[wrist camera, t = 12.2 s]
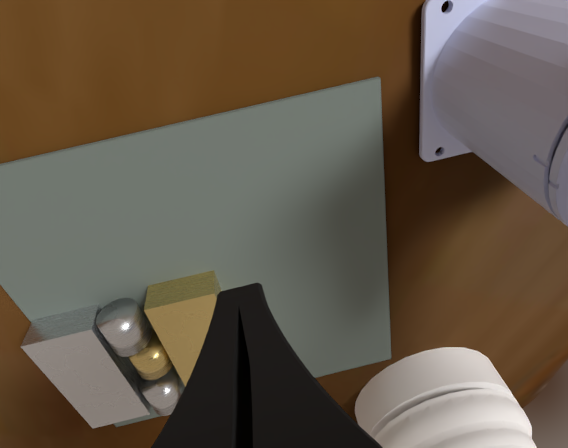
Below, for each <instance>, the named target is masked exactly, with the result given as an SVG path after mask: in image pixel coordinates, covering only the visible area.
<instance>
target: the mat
mask: <svg viewBox="0 0 568 448" xmlns="http://www.w3.org/2000/svg"><path fill="white" fill-rule="evenodd" d="M212 270H214V272H215V274H216V277H217V280H218V282H219V285H220V288H221V291H224V290H229V289H233V288H237V287H241V286H245V285H249V284H253V283H257V282H258V283H260V284H262V287H263V291H264V294H265V297H266V301H267V304H268V306H269V309H270V311H271V313H272V315H273V317H274V319H275V321H276V322H277V324H278V326H279V328H280V329H281V331H282V333H283V335H284V336H285V338H286V339H287V341H288V342H289V344H290V345H291V347H292V348H293V350H294V351H295V353H296V354H297V356H298V357H299V358H300V360H301V361H302V363H303V364H304V365H305V366H306V368H307V369H308V370H309V372H310V373H311V374H312V375H313V377H314V378H316V377H320V376H324V375H328V374H332V373H336V372H340V371H344V370H348V369H352V368H356V367H360V366H364V365H368V364H372V363H376V362H380V361H384V360H388V359H391V338H390V312H389V286H388V261H387V235H386V209H385V184H384V158H383V132H382V107H381V81H380V78H379V77H375V78H370V79H366V80H362V81H357V82H353V83H349V84H344V85H340V86H336V87H331V88H327V89H323V90H318V91H314V92H310V93H305V94H301V95H297V96H292V97H288V98H284V99H279V100H275V101H271V102H266V103H262V104H258V105H253V106H249V107H245V108H240V109H236V110H232V111H228V112H223V113H219V114H215V115H210V116H206V117H202V118H197V119H193V120H189V121H184V122H180V123H176V124H171V125H167V126H163V127H158V128H154V129H150V130H145V131H141V132H137V133H132V134H128V135H124V136H119V137H115V138H111V139H106V140H102V141H98V142H93V143H89V144H85V145H80V146H76V147H72V148H67V149H63V150H59V151H54V152H50V153H46V154H41V155H37V156H33V157H28V158H24V159H20V160H15V161H11V162H7V163H3V164H0V285H1V286H2V287H3V288H4V290H5V291H6V292H7V293H8V295H9V296H10V297H11V298H12V299H13V301H14V302H15V303H16V304H17V306H18V307H19V308H20V309H21V310H22V312H23V313H24V314H25V315H26V317H27V318H28V319H29V320H30V322H31V323H32V321H33V320H34V319H38V318H42V317H47V316H51V315H55V314H59V313H63V312H67V311H71V310H76V309H80V308H84V307H88V306H92V305H96V304H99V305H100V306H101V308H102V309H103V308H104V307H105V306H106V305H108V304H109V303H111V302H113V301H115V300H118V299H122V298H131V299H133V300H135V301H136V303H137V305H138V306H139V308H140V310H141V312H142V313H143V315H144V317H145V319H146V321H147V322H148V324H149V326H150V328H153V326H152V324H151V323H150V321H149V319H148V317H147V315H146V313H145V312H144V306H145V300H146V295H147V289H148V286H149V285H153V284H157V283H161V282H166V281H170V280H174V279H178V278H183V277H187V276H191V275H195V274H200V273H204V272H208V271H212ZM172 367H173V369H174V370H175V372H176V374H177V376H178V377H179V379H180V381H181V383H182V385H183V386H184V388H185V385H184V383H183V381H182V380H181V378H180V376H179V374H178V372H177V370H176V369H175V367H174V365H173V366H172ZM159 416H161V415H158V414H157V413H156V412H155V411H154V410H153V408H152V407H151V411H150V414H149V415H145V416H141V417H137V418H133V419H129V420H125V421H121V422H117V423H113V424H114V425H115V426H116V427H119V426H123V425H127V424H131V423H135V422H139V421H143V420H147V419H151V418H155V417H159Z"/></svg>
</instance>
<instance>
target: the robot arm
mask: <svg viewBox="0 0 568 448" xmlns="http://www.w3.org/2000/svg"><path fill="white" fill-rule="evenodd" d="M445 1H448V3H449V6H448V9H447V10H446V11H445V12H442V10H441V8H442V5H443V3H444V2H445ZM439 147H441V150H440V151H439V152H438V153H435V152H436V150H437V149H438V148H439ZM469 152H474V153H475V154H476V155H477V156H479V157H480V158H481V159H482V160H484V161H485V162H486V163H488V164H489V165H490V166H491V167H493V168H494V169H495V170H496V171H498V172H499V173H500V174H501V175H503V176H504V177H505V178H507V179H508V180H509V181H510V182H512V183H513V184H514V185H515V186H517V187H518V188H519V189H521V190H522V191H523V192H524V193H526V194H527V195H528V196H529V197H531V198H532V199H533V200H534V201H536V202H537V203H538V204H540V205H541V206H542V207H543V208H545V209H546V210H547V211H548V212H550V213H551V214H552V215H553V216H555V217H556V218H557V219H559V220H560V221H562V223H564V224H565V225H566V226H568V0H426V1H425V3H424V4H423V6H422V19H421V75H420V132H419V155H420V157H421V158H422V159H423V160H424V161H426V162H431V161H435V160H440V159H444V158H448V157H452V156H457V155H461V154H465V153H469ZM151 448H382V446H381V445H380V444H379V443H378V442H377V441H376V440H374V439H373V438H372V437H371V436H370V435H369V434H368V433H367V432H366V431H364V430H363V429H362V428H361V427H360V426H359V425H358V424H357V423H356V422H355V421H354V420H353V419H352V418H351V417H350V416H349V415H348V414H347V413H346V412H345V411H344V410H343V409H342V408H341V407H340V406H339V405H338V404H337V403H336V402H335V400H334V399H333V398H332V397H331V396H330V395H329V394H328V393H327V392H326V391H325V390H324V389H323V387H322V386H321V385H320V384H319V383H318V381H317V380H316V379H315V378H314V377H313V375H312V374H311V373H310V372H309V370H308V369H307V368H306V366H305V365H304V364H303V363H302V361H301V360H300V358H299V357H298V356H297V354H296V353H295V351H294V350H293V348H292V347H291V345H290V344H289V342H288V341H287V339H286V338H285V336H284V335H283V333H282V331H281V329H280V328H279V326H278V324H277V322H276V321H275V319H274V317H273V315H272V313H271V311H270V309H269V306H268V304H267V301H266V297H265V294H264V291H263V287H262V284H260V283H258V282H257V283H253V284H249V285H245V286H241V287H237V288H233V289H229V290H224V291H220V292H219V294H218V295H217V300H216V304H215V308H214V312H213V315H212V319H211V322H210V325H209V329H208V332H207V334H206V337H205V340H204V343H203V346H202V349H201V351H200V354H199V356H198V359H197V361H196V364H195V366H194V368H193V371H192V373H191V376H190V378H189V380H188V382H187V384H186V387H185V389H184V391H183V393H182V395H181V397H180V399H179V401H178V403H177V404H176V406H175V408H174V410H173V412H172V414H171V415H170V417H169V419H168V421H167V422H166V424H165V426H164V428H163V429H162V431H161V433H160V434H159V436H158V438H157V439H156V441H155V443H154V444H153V446H152V447H151Z"/></svg>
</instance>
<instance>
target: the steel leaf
mask: <svg viewBox="0 0 568 448" xmlns="http://www.w3.org/2000/svg"><path fill="white" fill-rule="evenodd" d="M151 338H152V329H151V328H150V326H149V324H148V322H147V321H146V319H145V317H144V315H143V313H142V312H141V310H140V308H139V306H138V305H137V303H136V301H135V300H133V299H131V298H122V299H118V300H115V301H113V302H111V303H109V304H108V305H106V306H105V307H104V308H103V309H102V308H101V306H100V305H99V304H96V305H92V306H88V307H84V308H80V309H76V310H71V311H67V312H63V313H59V314H55V315H51V316H47V317H42V318H38V319H34V320H33V321H32V323H31V325H30V327H29V330H28V332H27V334H26V336H25V338H24V340H23V343H22V345H21V348H22V349H23V350H24V351H25V352H26V353H27V355H28V356H29V357H30V358H31V359H32V360H33V361H34V362H35V364H36V365H37V366H38V367H39V368H40V369H41V370H42V372H43V373H44V374H45V375H46V376H47V377H48V378H49V379H50V381H51V382H52V383H53V384H54V385H55V386H56V387H57V389H58V390H59V391H60V392H61V393H62V394H63V395H64V397H65V398H66V399H67V400H68V401H69V402H70V403H71V404H72V406H73V407H74V408H75V409H76V410H77V411H78V412H79V414H80V415H81V416H82V417H83V418H84V419H85V420H86V421H87V423H88V424H89V425H90V426H91V427H92V428H97V427H101V426H105V425H109V424H113V423H117V422H121V421H125V420H129V419H133V418H137V417H141V416H145V415H149V414H150V411H151V407H152V408H153V410H154V411H155V412H156V413H157V414H158V415H161V416H167V415H171V414H172V412H173V410H174V408H175V406H176V404H177V403H178V401H179V399H180V397H181V395H182V393H183V391H184V389H185V388H184V386H183V385H182V383H181V381H180V379H179V377H178V376H177V374H176V372H175V370H174V369H173V367H172V368H171V369H170V371H169V372H168V373H166V374H165V375H164V376H162V377H160V378H158V379H155V380H146V379H143V378H142V377H141V376H140V375H139V373H138V372H137V370H136V368H135V367H134V365H133V364H132V362H131V361H130V359H129V357H128V356H132V355H135V354H137V353H139V352H140V351H142V350H143V349H144V348H145V347H146V346H147V345H148V344H149V342H150V340H151Z"/></svg>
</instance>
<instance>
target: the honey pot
mask: <svg viewBox="0 0 568 448" xmlns="http://www.w3.org/2000/svg"><path fill="white" fill-rule="evenodd" d="M355 415H356V419H357V422H358V425H359V426H360V427H361V428H362V429H363V430H364V431H366V432H367V433H368V434H369V435H370V436H371V437H372V438H373V439H374V440H376V441H377V442H378V443H379V444H380V445H381V446H382V448H537V447H536V445H535V444H534V442H533V440H532V438H531V437H532V426H531V424H530V422H529V420H528V418H527V416H526V414H525V412H524V411H523V409H522V408H521V407H520V406H519V404H518V402H517V400H516V399H515V398H514V396H513V395H512V393H511V391H510V390H509V388H508V387H507V385H506V384H505V382H504V381H503V379H502V378H501V376H500V375H499V373H498V372H497V371H496V369H495V368H494V366H493V365H492V363H491V362H490V360H489V359H488V358H487V357H486V356H484V355H483V354H481V353H480V352H478V351H475V350H471V349H467V348H462V347H444V348H438V349H432V350H426V351H423V352H420V353H417V354H414V355H411V356H408V357H405V358H403V359H401V360H399V361H398V362H396V363H394V364H392V365H390V366H388V367H386V368H385V369H384V370H382V371H381V372H380V373H378V374H377V375H376V376H374V377H373V378H372V379H371V380H370V381H369V382H368V383H367V384H366V385H365V387H364V388H363V389H362V390H361V392H360V394H359V396H358V398H357V400H356V402H355Z"/></svg>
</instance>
